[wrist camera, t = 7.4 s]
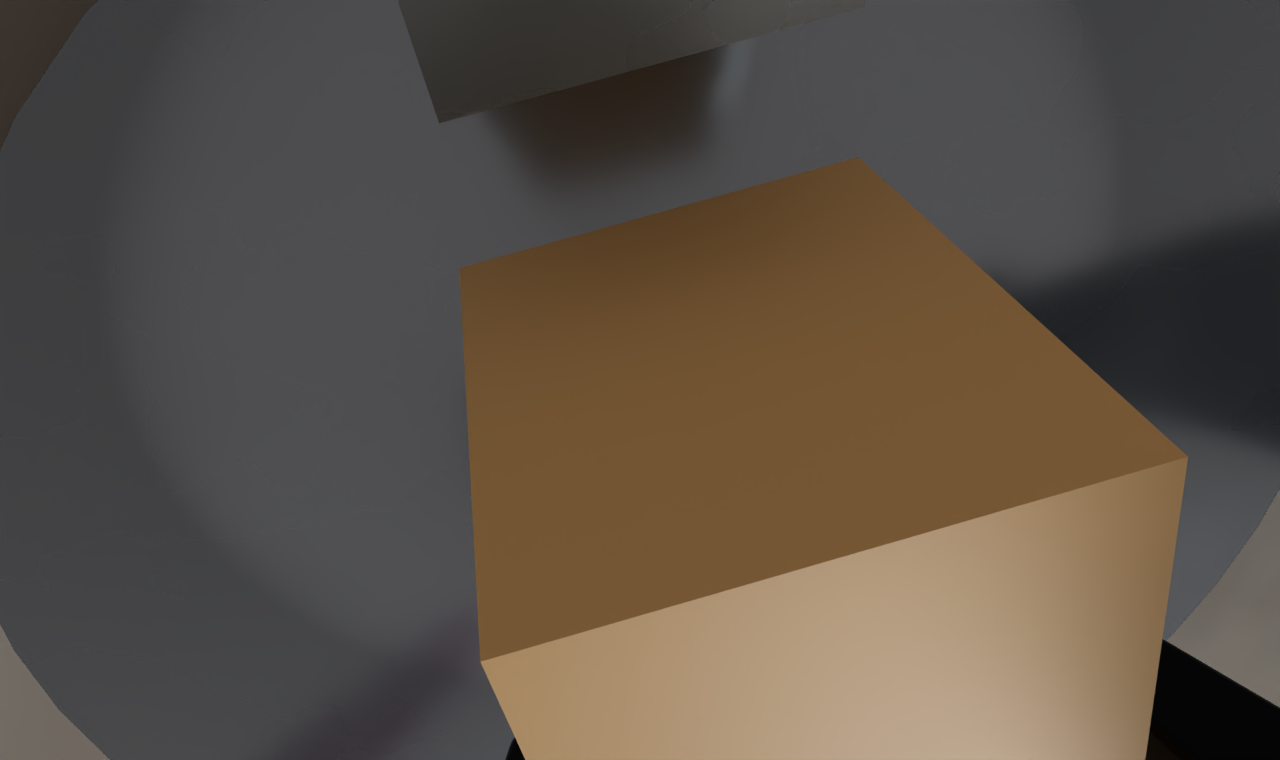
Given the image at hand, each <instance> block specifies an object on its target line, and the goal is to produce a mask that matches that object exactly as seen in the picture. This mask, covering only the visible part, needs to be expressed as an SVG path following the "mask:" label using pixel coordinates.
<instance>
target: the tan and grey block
mask: <svg viewBox="0 0 1280 760" xmlns="http://www.w3.org/2000/svg"><path fill="white" fill-rule="evenodd" d="M459 272H460V290H461V309H462V328H463V347H464V365H465V384H466V403H467V422H468V440H469V459H470V478H471V496H472V515H473V534H474V553H475V571H476V590H477V609H478V627H479V646H480V662H481V664H482V667H483V669H484V671H485V673H486V675H487V677H488V680H489V682H490V684H491V686H492V688H493V690H494V693H495V695H496V697H497V699H498V701H499V704H500V706H501V708H502V710H503V712H504V714H505V717H506V719H507V721H508V723H509V725H510V727H511V730H512V732H513V734H514V736H515V738H516V740H517V743H518V745H519V747H520V749H521V751H522V754H523V756H524V758H525V760H1145V758H1146V751H1147V744H1148V737H1149V730H1150V723H1151V716H1152V709H1153V702H1154V695H1155V688H1156V681H1157V674H1158V666H1159V659H1160V652H1161V645H1162V638H1163V631H1164V624H1165V617H1166V610H1167V603H1168V596H1169V589H1170V582H1171V575H1172V568H1173V561H1174V554H1175V546H1176V539H1177V532H1178V525H1179V518H1180V511H1181V504H1182V497H1183V490H1184V483H1185V476H1186V469H1187V462H1188V456H1187V455H1186V454H1185V453H1183V452H1182V451H1181V450H1180V449H1179V448H1178V447H1177V446H1176V445H1175V444H1174V443H1172V442H1171V441H1170V440H1169V439H1168V438H1167V437H1166V436H1165V435H1164V434H1163V433H1161V432H1160V431H1159V430H1158V429H1157V428H1156V427H1155V426H1154V425H1153V424H1152V423H1150V422H1149V421H1148V420H1147V419H1146V418H1145V417H1144V416H1143V415H1142V414H1141V413H1139V412H1138V411H1137V410H1136V409H1135V408H1134V407H1133V406H1132V405H1131V404H1130V403H1128V402H1127V401H1126V400H1125V399H1124V398H1123V397H1122V396H1121V395H1120V394H1119V393H1117V392H1116V391H1115V390H1114V389H1113V388H1112V387H1111V386H1110V385H1109V384H1108V383H1106V382H1105V381H1104V380H1103V379H1102V378H1101V377H1100V376H1099V375H1098V374H1097V373H1095V372H1094V371H1093V370H1092V369H1091V368H1090V367H1089V366H1088V365H1087V364H1086V363H1084V362H1083V361H1082V360H1081V359H1080V358H1079V357H1078V356H1077V355H1076V354H1075V353H1073V352H1072V351H1071V350H1070V349H1069V348H1068V347H1067V346H1066V345H1065V344H1064V343H1062V342H1061V341H1060V340H1059V339H1058V338H1057V337H1056V336H1055V335H1054V334H1053V333H1051V332H1050V331H1049V330H1048V329H1047V328H1046V327H1045V326H1044V325H1043V324H1042V323H1040V322H1039V321H1038V320H1037V319H1036V318H1035V317H1034V316H1033V315H1032V314H1031V313H1029V312H1028V311H1027V310H1026V309H1025V308H1024V307H1023V306H1022V305H1021V304H1020V303H1018V302H1017V301H1016V300H1015V299H1014V298H1013V297H1012V296H1011V295H1010V294H1009V293H1007V292H1006V291H1005V290H1004V289H1003V288H1002V287H1001V286H1000V285H999V284H998V283H996V282H995V281H994V280H993V279H992V278H991V277H990V276H989V275H988V274H987V273H985V272H984V271H983V270H982V269H981V268H980V267H979V266H978V265H977V264H976V263H974V262H973V261H972V260H971V259H970V258H969V257H968V256H967V255H966V254H965V253H963V252H962V251H961V250H960V249H959V248H958V247H957V246H956V245H955V244H954V243H952V242H951V241H950V240H949V239H948V238H947V237H946V236H945V235H944V234H943V233H941V232H940V231H939V230H938V229H937V228H936V227H935V226H934V225H933V224H932V223H930V222H929V221H928V220H927V219H926V218H925V217H924V216H923V215H922V214H921V213H919V212H918V211H917V210H916V209H915V208H914V207H913V206H912V205H911V204H910V203H908V202H907V201H906V200H905V199H904V198H903V197H902V196H901V195H900V194H899V193H897V192H896V191H895V190H894V189H893V188H892V187H891V186H890V185H889V184H888V183H886V182H885V181H884V180H883V179H882V178H881V177H880V176H879V175H878V174H877V173H875V172H874V171H873V170H872V169H871V168H870V167H869V166H868V165H867V164H866V163H864V162H863V161H862V160H861V159H860V158H859V157H857V158H853V159H849V160H846V161H842V162H839V163H835V164H831V165H828V166H824V167H821V168H817V169H814V170H810V171H806V172H803V173H799V174H796V175H792V176H788V177H785V178H781V179H778V180H774V181H770V182H767V183H763V184H760V185H756V186H752V187H749V188H745V189H742V190H738V191H734V192H731V193H727V194H724V195H720V196H716V197H713V198H709V199H706V200H702V201H698V202H695V203H691V204H688V205H684V206H680V207H677V208H673V209H670V210H666V211H662V212H659V213H655V214H652V215H648V216H644V217H641V218H637V219H634V220H630V221H626V222H623V223H619V224H616V225H612V226H609V227H605V228H601V229H598V230H594V231H591V232H587V233H583V234H580V235H576V236H573V237H569V238H565V239H562V240H558V241H555V242H551V243H547V244H544V245H540V246H537V247H533V248H529V249H526V250H522V251H519V252H515V253H511V254H508V255H504V256H501V257H497V258H493V259H490V260H486V261H483V262H479V263H475V264H472V265H468V266H465V267H461V268H459Z"/></svg>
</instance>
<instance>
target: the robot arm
mask: <svg viewBox="0 0 1280 760" xmlns="http://www.w3.org/2000/svg"><path fill="white" fill-rule="evenodd" d="M505 760H525V758H524V756H523V754H522V751H521V749H520V747H519V745H518V743H517V740H516V738H515V737H514V738H513V740H512V742H511V744H510V747H509V750H508V753H507V756H506V759H505ZM1145 760H1280V708H1279V707H1278V706H1276V705H1274V704H1273V703H1271V702H1269V701H1267V700H1266V699H1264V698H1262V697H1261V696H1259V695H1257V694H1256V693H1254V692H1252V691H1250V690H1249V689H1247V688H1245V687H1244V686H1242V685H1240V684H1238V683H1237V682H1235V681H1233V680H1232V679H1230V678H1228V677H1227V676H1225V675H1223V674H1221V673H1220V672H1218V671H1216V670H1215V669H1213V668H1211V667H1209V666H1208V665H1206V664H1204V663H1203V662H1201V661H1199V660H1198V659H1196V658H1194V657H1192V656H1191V655H1189V654H1187V653H1186V652H1184V651H1182V650H1180V649H1179V648H1177V647H1175V646H1174V645H1172V644H1170V643H1169V642H1167V641H1165V640H1163V639H1162V645H1161V652H1160V659H1159V666H1158V674H1157V681H1156V688H1155V695H1154V702H1153V709H1152V716H1151V723H1150V730H1149V737H1148V744H1147V751H1146V758H1145Z"/></svg>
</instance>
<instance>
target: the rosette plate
mask: <svg viewBox="0 0 1280 760" xmlns="http://www.w3.org/2000/svg"><path fill="white" fill-rule="evenodd" d="M857 157H859V158H860V159H861V160H862V161H863V162H864V163H866V164H867V165H868V166H869V167H870V168H871V169H872V170H873V171H874V172H875V173H877V174H878V175H879V176H880V177H881V178H882V179H883V180H884V181H885V182H886V183H888V184H889V185H890V186H891V187H892V188H893V189H894V190H895V191H896V192H897V193H899V194H900V195H901V196H902V197H903V198H904V199H905V200H906V201H907V202H908V203H910V204H911V205H912V206H913V207H914V208H915V209H916V210H917V211H918V212H919V213H921V214H922V215H923V216H924V217H925V218H926V219H927V220H928V221H929V222H930V223H932V224H933V225H934V226H935V227H936V228H937V229H938V230H939V231H940V232H941V233H943V234H944V235H945V236H946V237H947V238H948V239H949V240H950V241H951V242H952V243H954V244H955V245H956V246H957V247H958V248H959V249H960V250H961V251H962V252H963V253H965V254H966V255H967V256H968V257H969V258H970V259H971V260H972V261H973V262H974V263H976V264H977V265H978V266H979V267H980V268H981V269H982V270H983V271H984V272H985V273H987V274H988V275H989V276H990V277H991V278H992V279H993V280H994V281H995V282H996V283H998V284H999V285H1000V286H1001V287H1002V288H1003V289H1004V290H1005V291H1006V292H1007V293H1009V294H1010V295H1011V296H1012V297H1013V298H1014V299H1015V300H1016V301H1017V302H1018V303H1020V304H1021V305H1022V306H1023V307H1024V308H1025V309H1026V310H1027V311H1028V312H1029V313H1031V314H1032V315H1033V316H1034V317H1035V318H1036V319H1037V320H1038V321H1039V322H1040V323H1042V324H1043V325H1044V326H1045V327H1046V328H1047V329H1048V330H1049V331H1050V332H1051V333H1053V334H1054V335H1055V336H1056V337H1057V338H1058V339H1059V340H1060V341H1061V342H1062V343H1064V344H1065V345H1066V346H1067V347H1068V348H1069V349H1070V350H1071V351H1072V352H1073V353H1075V354H1076V355H1077V356H1078V357H1079V358H1080V359H1081V360H1082V361H1083V362H1084V363H1086V364H1087V365H1088V366H1089V367H1090V368H1091V369H1092V370H1093V371H1094V372H1095V373H1097V374H1098V375H1099V376H1100V377H1101V378H1102V379H1103V380H1104V381H1105V382H1106V383H1108V384H1109V385H1110V386H1111V387H1112V388H1113V389H1114V390H1115V391H1116V392H1117V393H1119V394H1120V395H1121V396H1122V397H1123V398H1124V399H1125V400H1126V401H1127V402H1128V403H1130V404H1131V405H1132V406H1133V407H1134V408H1135V409H1136V410H1137V411H1138V412H1139V413H1141V414H1142V415H1143V416H1144V417H1145V418H1146V419H1147V420H1148V421H1149V422H1150V423H1152V424H1153V425H1154V426H1155V427H1156V428H1157V429H1158V430H1159V431H1160V432H1161V433H1163V434H1164V435H1165V436H1166V437H1167V438H1168V439H1169V440H1170V441H1171V442H1172V443H1174V444H1175V445H1176V446H1177V447H1178V448H1179V449H1180V450H1181V451H1182V452H1183V453H1185V454H1186V455H1187V456H1188V462H1187V469H1186V476H1185V483H1184V490H1183V497H1182V504H1181V511H1180V518H1179V525H1178V532H1177V539H1176V546H1175V554H1174V561H1173V568H1172V575H1171V582H1170V589H1169V596H1168V603H1167V610H1166V617H1165V624H1164V631H1163V638H1162V639H1163V640H1165V641H1166V640H1167V639H1168V638H1169V637H1170V636H1171V635H1172V634H1173V633H1174V632H1175V631H1176V630H1177V629H1178V628H1179V627H1180V625H1181V624H1182V623H1183V622H1184V621H1185V620H1186V618H1187V617H1188V616H1189V615H1190V614H1191V613H1192V612H1193V610H1194V609H1195V608H1196V607H1197V606H1198V605H1199V603H1200V602H1201V601H1202V600H1203V599H1204V598H1205V596H1206V595H1207V594H1208V593H1209V592H1210V591H1211V589H1212V588H1213V587H1214V586H1215V585H1216V584H1217V582H1218V581H1219V580H1220V579H1221V577H1222V576H1223V574H1224V573H1225V572H1226V570H1227V569H1228V567H1229V566H1230V565H1231V563H1232V562H1233V560H1234V559H1235V558H1236V556H1237V555H1238V553H1239V552H1240V551H1241V549H1242V548H1243V546H1244V545H1245V544H1246V542H1247V541H1248V539H1249V538H1250V537H1251V535H1252V534H1253V532H1254V531H1255V530H1256V528H1257V527H1258V525H1259V524H1260V522H1261V520H1262V518H1263V517H1264V515H1265V513H1266V512H1267V510H1268V508H1269V506H1270V505H1271V503H1272V501H1273V499H1274V498H1275V496H1276V494H1277V492H1278V491H1279V489H1280V0H98V1H97V2H96V3H95V4H94V5H93V6H92V7H91V8H90V9H89V10H88V11H87V12H86V13H85V14H84V16H83V17H82V19H81V20H80V22H79V23H78V24H77V26H76V27H75V29H74V30H73V32H72V33H71V35H70V36H69V38H68V39H67V41H66V42H65V44H64V45H63V47H62V48H61V50H60V51H59V53H58V54H57V56H56V57H55V59H54V60H53V62H52V63H51V65H50V66H49V68H48V69H47V70H46V72H45V73H44V75H43V76H42V78H41V79H40V81H39V82H38V84H37V85H36V87H35V88H34V90H33V91H32V93H31V94H30V96H29V97H28V99H27V100H26V102H25V103H24V105H23V106H22V108H21V109H20V111H19V112H18V113H17V115H16V117H15V119H14V121H13V123H12V126H11V128H10V130H9V132H8V135H7V137H6V139H5V141H4V144H3V146H2V148H1V150H0V624H1V626H2V628H3V630H4V632H5V634H6V636H7V638H8V640H9V641H10V643H11V645H12V647H13V649H14V651H15V652H16V653H17V655H18V656H19V657H20V659H21V660H22V661H23V663H24V664H25V665H26V667H27V668H28V669H29V671H30V672H31V673H32V675H33V676H34V677H35V678H36V680H37V681H38V682H39V684H40V685H41V686H42V688H43V689H44V690H45V692H46V693H47V694H48V696H49V697H50V698H51V700H52V701H53V702H54V704H55V705H56V706H57V708H58V709H59V710H60V711H61V712H62V713H63V714H64V715H65V716H66V717H67V718H68V719H69V720H70V721H71V722H72V723H73V724H74V725H75V726H76V727H77V728H78V729H79V730H80V731H81V732H82V733H83V734H84V735H85V736H86V737H87V738H88V739H89V740H91V741H92V742H93V743H94V744H95V745H96V746H97V747H98V748H99V749H100V750H101V751H102V752H103V753H104V754H105V755H106V756H107V757H108V758H109V759H110V760H505V759H506V756H507V753H508V750H509V747H510V744H511V742H512V740H513V738H514V737H515V736H514V734H513V732H512V730H511V727H510V725H509V723H508V721H507V719H506V717H505V714H504V712H503V710H502V708H501V706H500V704H499V701H498V699H497V697H496V695H495V693H494V690H493V688H492V686H491V684H490V682H489V680H488V677H487V675H486V673H485V671H484V669H483V667H482V664H481V662H480V646H479V627H478V609H477V590H476V571H475V553H474V534H473V515H472V496H471V478H470V459H469V440H468V422H467V403H466V384H465V365H464V347H463V328H462V309H461V290H460V272H459V268H461V267H465V266H468V265H472V264H475V263H479V262H483V261H486V260H490V259H493V258H497V257H501V256H504V255H508V254H511V253H515V252H519V251H522V250H526V249H529V248H533V247H537V246H540V245H544V244H547V243H551V242H555V241H558V240H562V239H565V238H569V237H573V236H576V235H580V234H583V233H587V232H591V231H594V230H598V229H601V228H605V227H609V226H612V225H616V224H619V223H623V222H626V221H630V220H634V219H637V218H641V217H644V216H648V215H652V214H655V213H659V212H662V211H666V210H670V209H673V208H677V207H680V206H684V205H688V204H691V203H695V202H698V201H702V200H706V199H709V198H713V197H716V196H720V195H724V194H727V193H731V192H734V191H738V190H742V189H745V188H749V187H752V186H756V185H760V184H763V183H767V182H770V181H774V180H778V179H781V178H785V177H788V176H792V175H796V174H799V173H803V172H806V171H810V170H814V169H817V168H821V167H824V166H828V165H831V164H835V163H839V162H842V161H846V160H849V159H853V158H857Z"/></svg>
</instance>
